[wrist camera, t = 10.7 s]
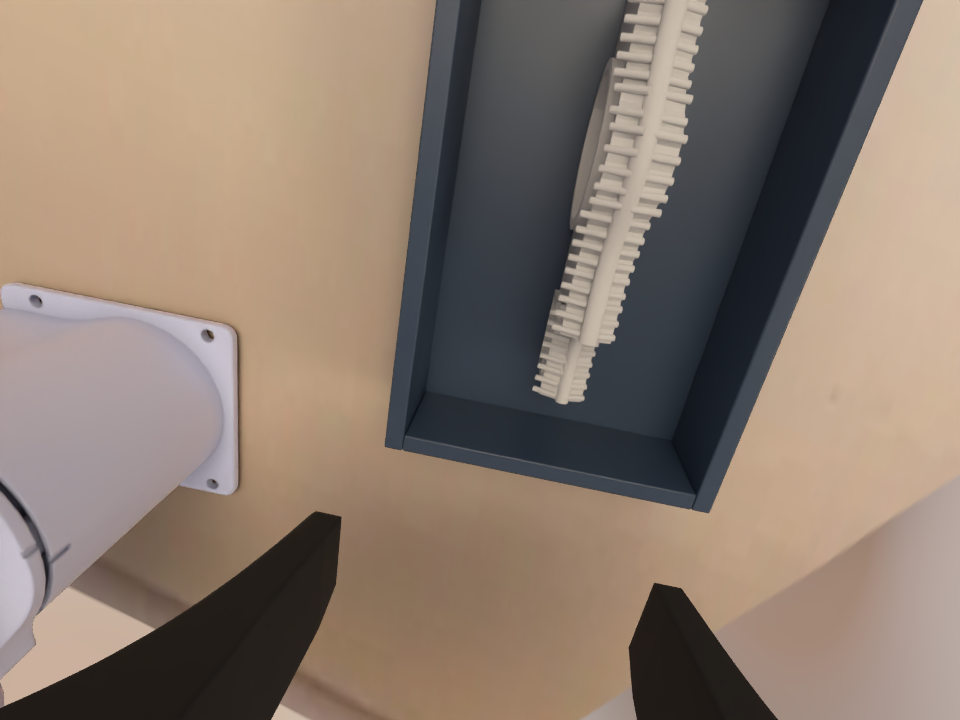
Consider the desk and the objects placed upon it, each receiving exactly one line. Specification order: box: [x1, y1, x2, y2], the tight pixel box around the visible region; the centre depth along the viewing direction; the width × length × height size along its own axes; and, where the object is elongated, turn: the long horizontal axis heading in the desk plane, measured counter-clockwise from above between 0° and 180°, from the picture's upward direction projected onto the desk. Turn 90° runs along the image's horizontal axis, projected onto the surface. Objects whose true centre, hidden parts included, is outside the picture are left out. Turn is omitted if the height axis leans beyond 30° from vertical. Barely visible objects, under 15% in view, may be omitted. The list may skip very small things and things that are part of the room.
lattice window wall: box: [532, 0, 708, 404], centre depth 14 cm, size 12×2×6 cm, turn 170°
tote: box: [385, 0, 923, 513], centre depth 16 cm, size 11×17×4 cm, turn 170°
